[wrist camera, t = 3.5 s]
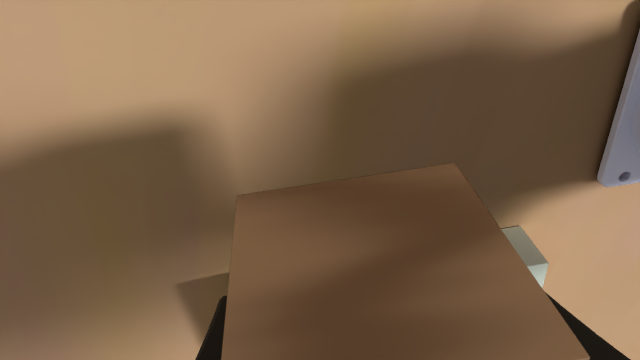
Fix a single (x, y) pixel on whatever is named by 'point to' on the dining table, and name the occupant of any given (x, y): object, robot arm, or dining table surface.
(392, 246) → the walnut cube
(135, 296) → the dining table surface
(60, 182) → the dining table surface
